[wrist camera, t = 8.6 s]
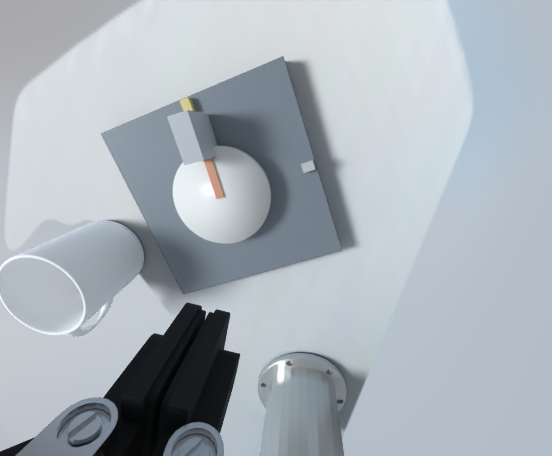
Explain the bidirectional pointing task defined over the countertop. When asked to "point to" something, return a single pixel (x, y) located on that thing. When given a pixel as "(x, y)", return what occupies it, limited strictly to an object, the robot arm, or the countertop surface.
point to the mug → (71, 277)
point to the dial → (216, 183)
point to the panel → (256, 142)
